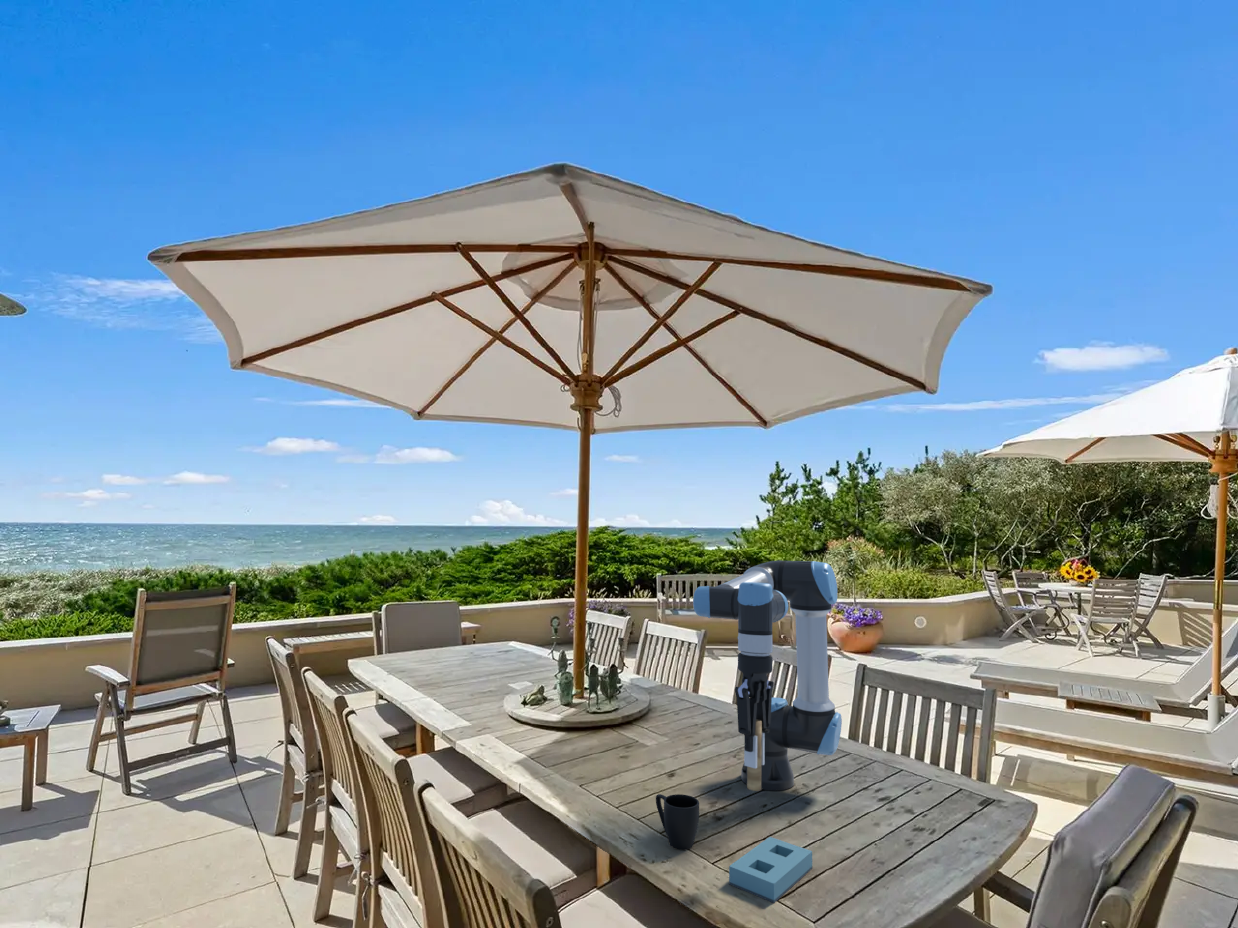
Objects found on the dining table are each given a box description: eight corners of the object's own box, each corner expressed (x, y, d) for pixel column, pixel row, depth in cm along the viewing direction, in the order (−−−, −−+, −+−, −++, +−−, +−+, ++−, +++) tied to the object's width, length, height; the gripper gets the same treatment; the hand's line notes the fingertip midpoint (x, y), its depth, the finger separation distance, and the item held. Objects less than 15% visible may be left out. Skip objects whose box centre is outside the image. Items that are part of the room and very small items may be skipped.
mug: (670, 827, 156) (670, 786, 157) (706, 846, 146) (706, 802, 148) (645, 836, 150) (645, 793, 152) (681, 856, 141) (681, 811, 142)
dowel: (751, 784, 140) (751, 717, 141) (763, 788, 138) (764, 720, 139) (744, 788, 137) (745, 720, 139) (756, 791, 135) (757, 723, 137)
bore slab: (769, 852, 144) (769, 836, 144) (812, 868, 137) (812, 850, 138) (729, 884, 130) (729, 865, 131) (774, 902, 124) (774, 883, 124)
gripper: (757, 647, 150) (756, 753, 146) (721, 654, 138) (720, 768, 135) (786, 651, 145) (787, 761, 141) (752, 658, 133) (751, 777, 130)
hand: (754, 764), depth 138 cm, fingers closed on dowel, 2 cm apart
